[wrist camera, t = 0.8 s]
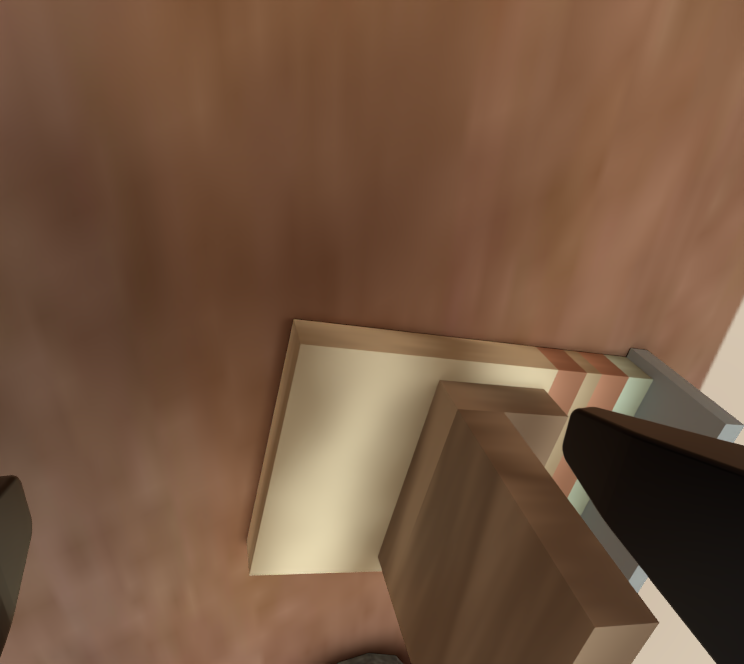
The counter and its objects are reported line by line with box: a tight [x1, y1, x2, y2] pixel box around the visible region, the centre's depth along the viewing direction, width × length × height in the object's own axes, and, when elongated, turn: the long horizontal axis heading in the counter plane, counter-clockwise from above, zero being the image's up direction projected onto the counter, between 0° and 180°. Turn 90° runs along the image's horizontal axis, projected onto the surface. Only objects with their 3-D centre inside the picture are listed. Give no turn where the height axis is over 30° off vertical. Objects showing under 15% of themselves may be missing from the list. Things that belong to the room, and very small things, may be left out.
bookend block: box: [378, 380, 659, 664], centre depth 22 cm, size 5×10×11 cm, turn 165°
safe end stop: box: [581, 348, 744, 593], centre depth 28 cm, size 1×13×6 cm, turn 165°
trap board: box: [247, 319, 653, 576], centre depth 27 cm, size 16×12×2 cm
